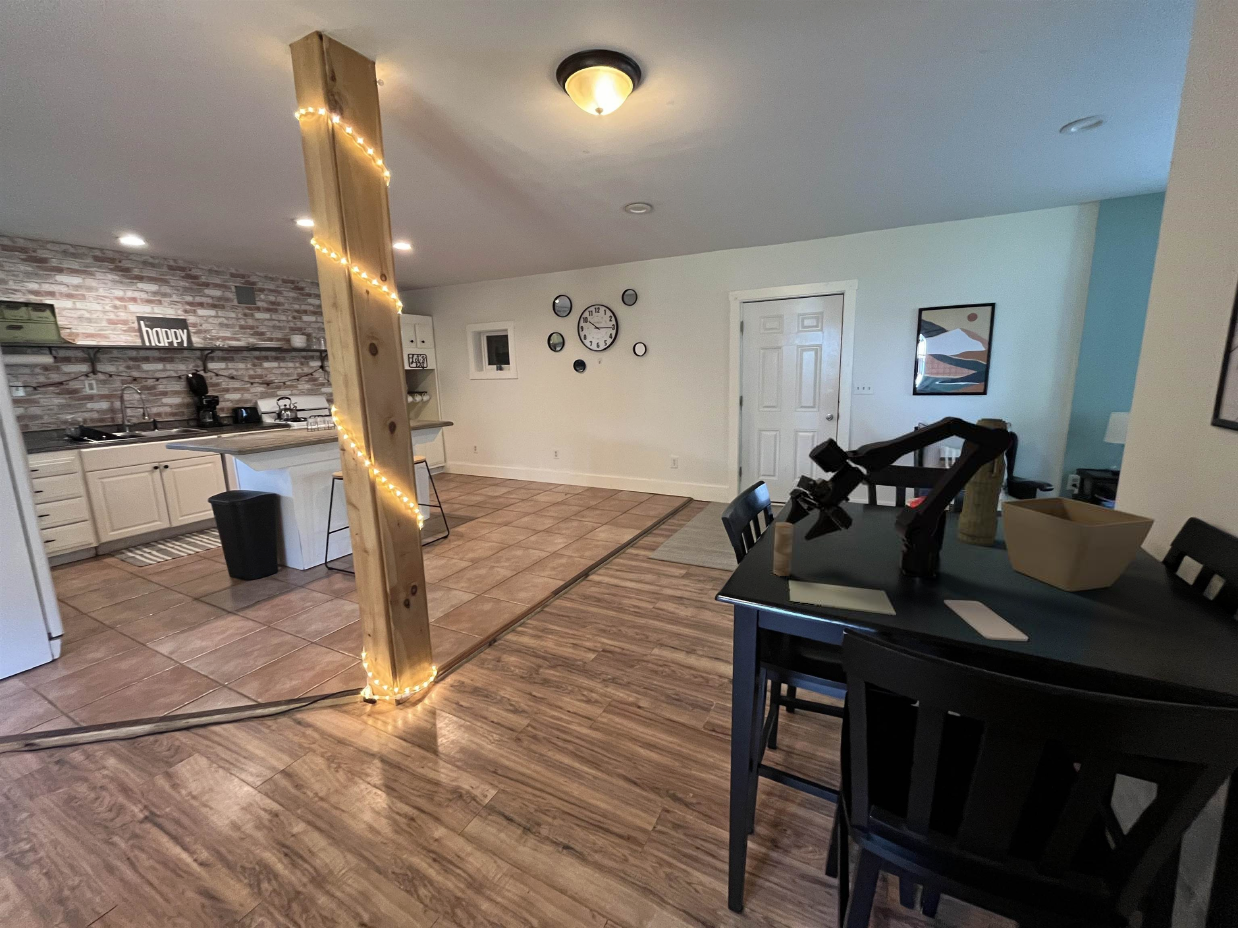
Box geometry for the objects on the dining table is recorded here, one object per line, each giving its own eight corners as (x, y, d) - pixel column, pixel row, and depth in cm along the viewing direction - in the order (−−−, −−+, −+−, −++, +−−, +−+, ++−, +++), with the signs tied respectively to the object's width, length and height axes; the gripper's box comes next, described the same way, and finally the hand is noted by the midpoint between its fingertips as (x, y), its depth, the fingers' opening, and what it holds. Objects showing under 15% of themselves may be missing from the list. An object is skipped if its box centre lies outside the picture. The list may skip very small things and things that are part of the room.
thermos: (976, 533, 143) (992, 417, 136) (1006, 548, 131) (1025, 421, 124) (946, 533, 143) (960, 417, 136) (973, 548, 131) (991, 421, 125)
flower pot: (1142, 591, 105) (1158, 518, 102) (1075, 601, 101) (1089, 525, 98) (1048, 559, 123) (1059, 496, 120) (989, 566, 119) (998, 501, 116)
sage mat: (884, 592, 106) (884, 590, 106) (895, 615, 96) (895, 613, 96) (788, 581, 112) (788, 580, 112) (790, 602, 102) (790, 600, 102)
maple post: (790, 571, 118) (792, 522, 115) (790, 577, 114) (793, 527, 112) (773, 569, 119) (775, 521, 116) (773, 575, 115) (775, 526, 113)
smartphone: (978, 601, 101) (1030, 639, 86) (978, 604, 101) (1030, 642, 86) (941, 599, 102) (987, 637, 87) (941, 602, 102) (986, 640, 87)
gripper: (798, 457, 122) (756, 501, 122) (845, 472, 104) (795, 523, 104) (824, 485, 125) (782, 528, 125) (873, 505, 107) (825, 555, 107)
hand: (794, 532), depth 115 cm, fingers open, 9 cm apart
